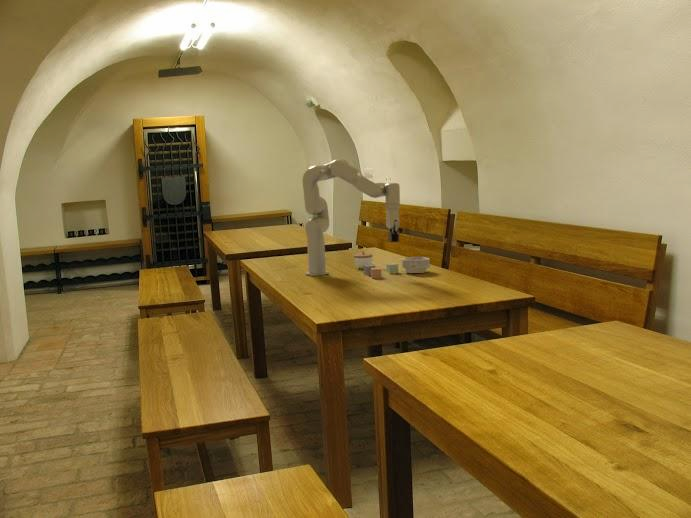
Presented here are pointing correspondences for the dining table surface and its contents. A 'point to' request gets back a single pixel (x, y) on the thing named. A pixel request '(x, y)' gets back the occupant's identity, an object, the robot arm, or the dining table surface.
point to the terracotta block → (376, 273)
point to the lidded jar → (363, 259)
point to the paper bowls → (415, 264)
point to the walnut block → (391, 237)
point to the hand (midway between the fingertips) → (393, 240)
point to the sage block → (392, 268)
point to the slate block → (368, 269)
